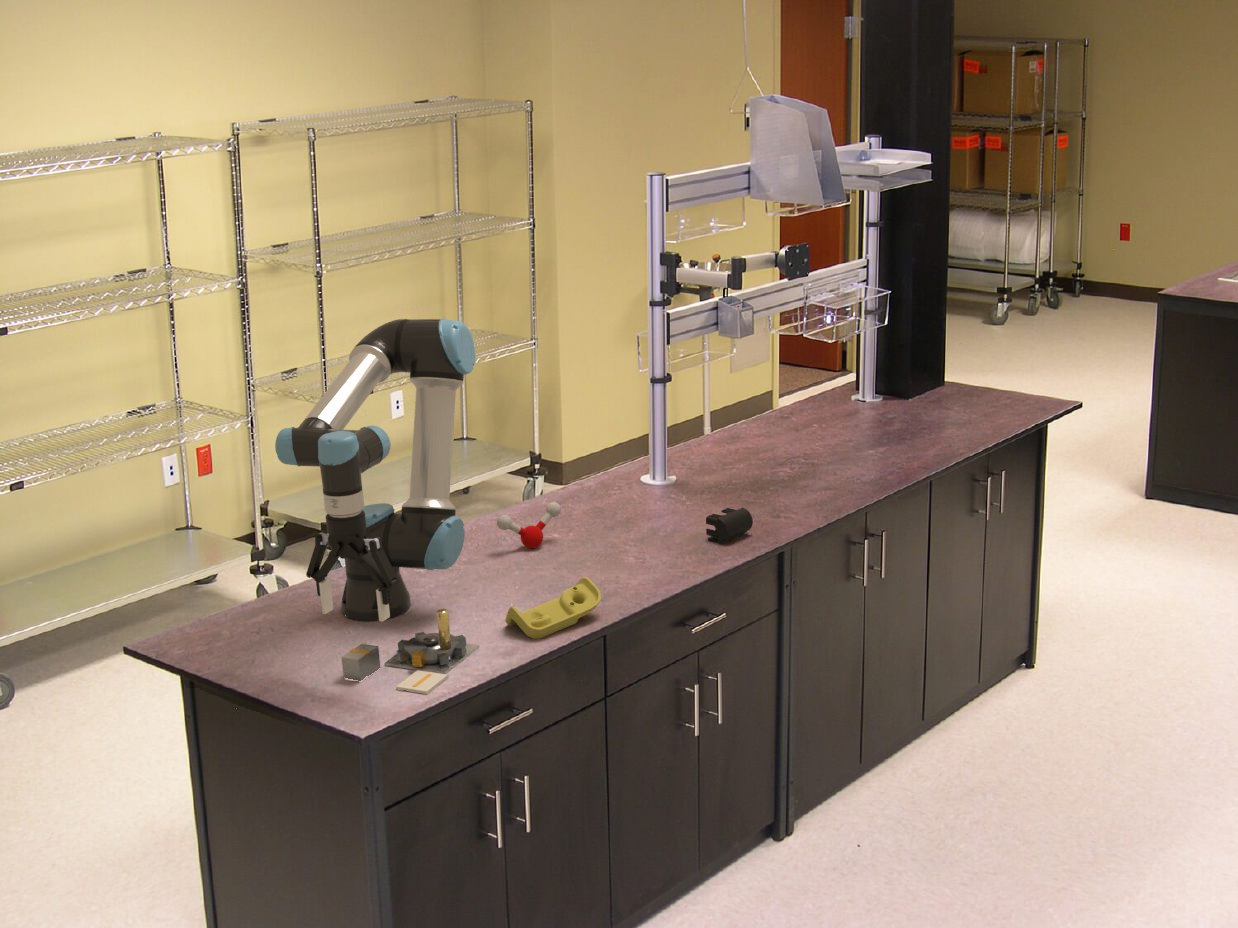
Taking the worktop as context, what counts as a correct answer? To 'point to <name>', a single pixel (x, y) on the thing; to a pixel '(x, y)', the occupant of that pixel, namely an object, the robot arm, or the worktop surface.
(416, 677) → the marked pad
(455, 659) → the sprocket base
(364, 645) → the link block
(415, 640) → the sprocket
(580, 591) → the plastic component
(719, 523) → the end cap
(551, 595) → the worktop surface
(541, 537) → the molecular model
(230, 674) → the worktop surface
